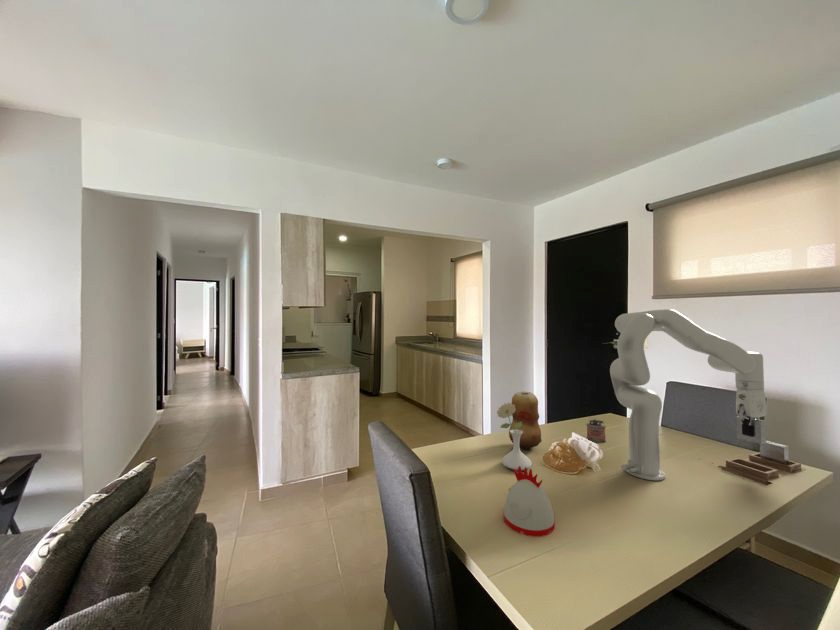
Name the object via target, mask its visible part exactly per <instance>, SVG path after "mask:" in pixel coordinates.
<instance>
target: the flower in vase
mask: <svg viewBox="0 0 840 630" xmlns="http://www.w3.org/2000/svg"><path fill="white" fill-rule="evenodd" d="M496 412H497V413H496V414H497V417H499V418H502V419H506V418H508V420H509V423H508V422H505V423H502V425H500V428H503V429H508V428H510V426H512V425H511V424H512V421H511V419H510V418H511V417H513V416H512V414H513V413H514V412H515V406H514V404H513V405H512V402H507V403H504V404H501V406H500V407H498V410H497V411H496ZM521 424H522V421H521V422H519V423H516V424H515V425H514V428H519V427H520V426H521ZM512 428H513V426H512ZM514 428H513V430H510V433H511V434H512V437H513V442H512V444H513V446H512V447H513V448H512V450H511V451H510V452H508V453H507V454H505V455H504V456H503V457H502V458H501V464H503V466H504V467H506V468H508V469H510V470H513V471H514V469H516V471H518V467H519V466H520V467H521V470H522V471H524V469H525V468H527V470H530V469H531V468H532V465H533V463H532V461H531V460H530V458H529V457H527V456H526V454H525V453H523V452H522V451H521V448H520V447H519V442H520V436H521V434H522V433H523V431H521V430H516V429H514Z"/></svg>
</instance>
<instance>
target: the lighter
mask: <svg viewBox="0 0 840 630" xmlns="http://www.w3.org/2000/svg"><path fill="white" fill-rule="evenodd" d="M588 420H589V421H588V423H586V439H587V438H588V439H589V440H588V441H590V440H592V441H591V442H597V443H607V440H606V428H607V427H606V425H605V424H604V423H605V421H604V420H602V419H596V418H593V419H591V418H590V419H588Z"/></svg>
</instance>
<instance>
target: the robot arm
mask: <svg viewBox="0 0 840 630" xmlns="http://www.w3.org/2000/svg"><path fill="white" fill-rule="evenodd" d="M614 327H615V328H616V330H617V332H618V333H619V334H620V335H619V336H618V338H617V339H618V340H617V343H616V349H617V354H618V358H616V359H615V360H613V361H612V362H611V364H610V368H609V373H610V379H611V383H612V387H613V390H614V395H615V397H616V399H617V401H618V402H619V404H620V405H622V406H623V407H625V408H627V409H630V410H631V413H630V416H629V418H628V419H629V420H628V451H629V452H628V454H629V455H628V456H629V457H628V459H627V462H626V463H625V464H622V465H621V466H620V468H621V470H622V471H624V472H625V471H626V473H628V475H631V476H634V477H637V478H639V479H643V480H648V481H663V480H664V479H666V473H665V472H664V471H663V470H662V469H661V460H660V458H661V457H660V456H661V455H660V453H661V452H660V451H661V449H660V420H661V419H660V418H661V413H662V408H663V405H662V404H663V402H662V399H661V397H660V396H659V395H658V394H657V393H656V392H655V391H653V390H651V389H649V388H646V387H643V386H644V385H647V384H648V383H649V382H650V380H651V373H650V369H649V368H650V367H649V365H648V360H647V357H646V354H645V349H644V348H645V346H644V344H645V341H646V339H647V337H649V335H650V334H651V333H652V332H663V333H665V334H667V335H668V336H669V337H671V338H672V339H674V340H676V342H678V343H679V344H681V345H683V346H684V347H685V348H687V349H690V350H691V351H694V352H698V353H701V354H705V355H708V357H707V363H708V365H709V366H710V367H711V368H712V369H714V370H718V371H720V372H721V371H722V372H727V373H734V375H735V389H736V393H735V395H736V396H735V412H736V414H737V417H738V419H740V420H741V424H742V434H743V435H747V436H751V437H754V426H752V418H754V419H759V420H762V419H761V418H762V417H765V416H767V414H768V411H767V410H768V409H767V399H766V393H765V379H764V378H765V377H764V374H765V373H764V356H763V354H762V353H761V352H757V351H746V350H745V349H744V348H742V347H741V346H739V345H738V344H735V343H734V342H732V341H730V340H729V339H726V338H724V337H721V336H718V335H716V334H715V333H712V332H709V331H707V330H705V329H704V328H702V327H701V326H699V325H698V324H697V323H695V322H693V321H692V320H691V319H689V318H688V317H686V316H685V315H683V314H682V313H680V312H679V311H677V310H675V309H671V308H670V309H668V308H667V309H665V308H664V309H653V310H648V311H647V310H646V311H639V312H638V311H637V312H629V313H622V314H620V315H618V316H617V317H616V319H615V321H614ZM747 418H749V420H748V419H747Z"/></svg>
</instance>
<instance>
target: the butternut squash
mask: <svg viewBox="0 0 840 630" xmlns="http://www.w3.org/2000/svg"><path fill="white" fill-rule="evenodd" d="M511 403H512V404H511V405H513V404H514V406H515V412H514V413H513V414H512V416H511V417H512V421H511V425H512V426H513V428H514V425H515V424H516V423H519V422H521V421H522V424H521V426H520V427H519V428H514V429H516V430H521V431H523V433H522V434H521V436H520V442H519V448H520V450H531V449H533V448H535V447H537V446H539V445H540V444H541V443H542V431H541V428H540V425H539V420H540V419H539V418H540V414H539V407H538V406H539V399H538V398H537V396H536V395H535V394H534V393H533V392H529V391H518V392H515V393H514V394H513V396H512V397H511ZM511 425H510V426H509V430H508V437H509V439H510V441H511V442H512V443H513V437H512V434H511V433H510V430H513V428H512V426H511Z"/></svg>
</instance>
